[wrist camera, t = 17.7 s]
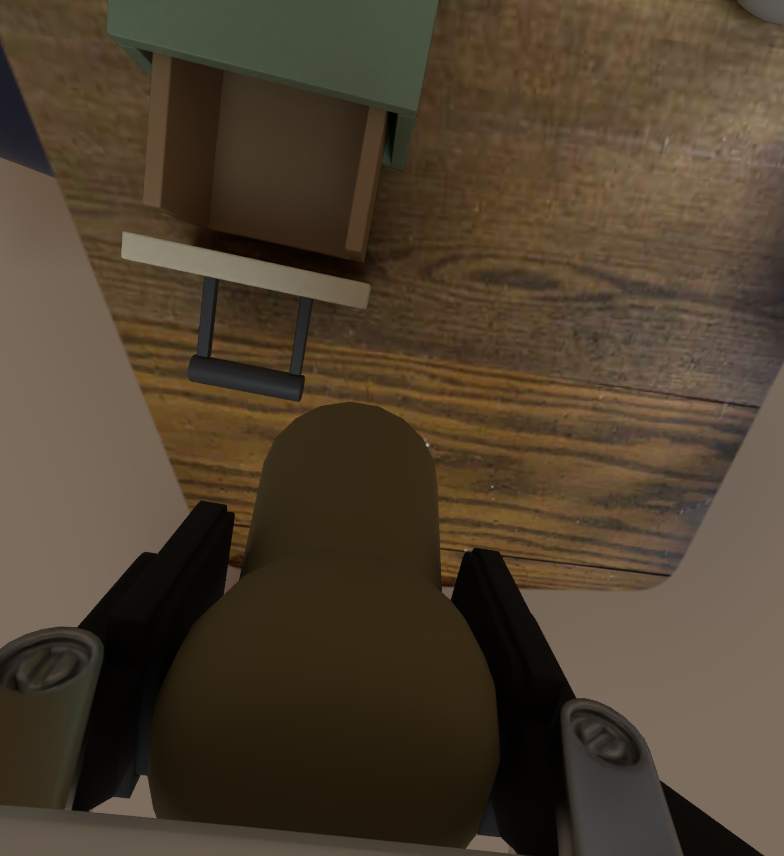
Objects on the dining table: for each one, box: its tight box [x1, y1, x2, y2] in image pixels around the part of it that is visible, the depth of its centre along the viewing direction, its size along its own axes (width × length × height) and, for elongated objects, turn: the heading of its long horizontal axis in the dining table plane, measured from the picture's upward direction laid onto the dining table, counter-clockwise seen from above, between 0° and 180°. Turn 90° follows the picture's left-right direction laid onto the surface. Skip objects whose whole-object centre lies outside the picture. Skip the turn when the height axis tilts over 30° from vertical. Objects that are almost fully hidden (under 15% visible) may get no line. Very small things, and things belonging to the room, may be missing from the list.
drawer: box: [121, 52, 391, 402], centre depth 25 cm, size 19×11×8 cm, turn 168°
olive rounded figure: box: [147, 402, 500, 849], centre depth 11 cm, size 6×6×11 cm
